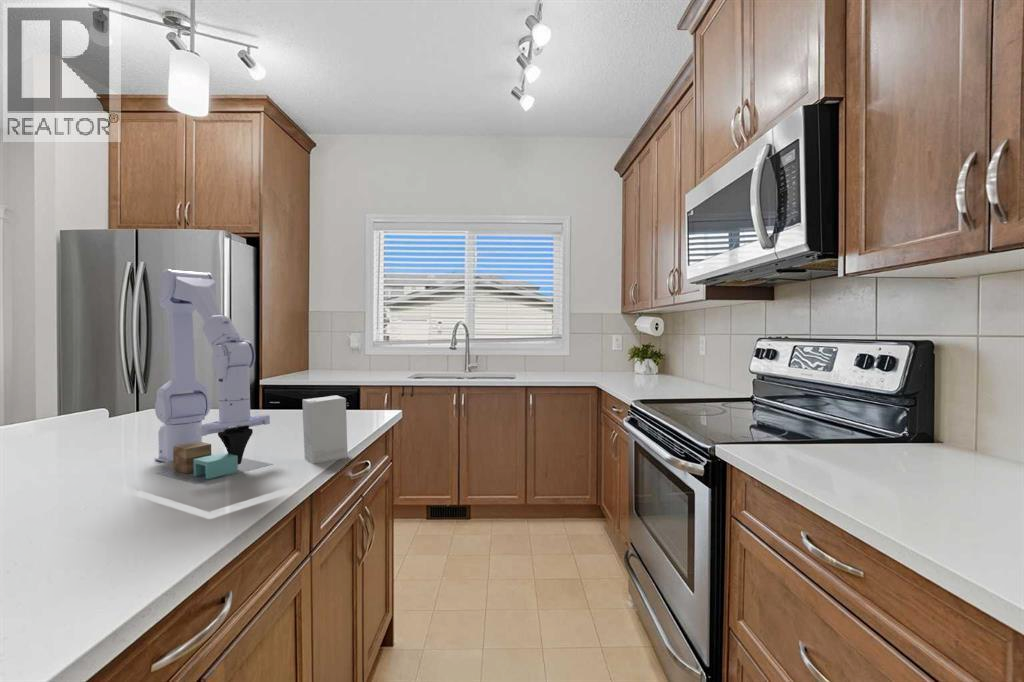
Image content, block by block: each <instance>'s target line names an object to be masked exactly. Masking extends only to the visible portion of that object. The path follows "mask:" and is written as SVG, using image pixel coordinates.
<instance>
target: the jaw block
mask: <svg viewBox="0 0 1024 682" xmlns="http://www.w3.org/2000/svg"><path fill="white" fill-rule="evenodd" d="M210 455H212V444H211V443H209V442H203V441H202V442H193V443H188V444H182V445H177V446H173V461H172V462H173V469H174V470H175V471H179V472H183V473H190V472H194V459H197V458H201V457H206V456H210Z"/></svg>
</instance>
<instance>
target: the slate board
mask: <svg viewBox="0 0 1024 682" xmlns="http://www.w3.org/2000/svg"><path fill="white" fill-rule="evenodd" d="M271 465H274V464H273V463H269V462H265V461H259V460H256V459H255V460H254V459H250V458H245V457H242V461H241V464H238V472H234V473H230V474H226V475H222V476H218V477H214V478H210V479H206V474H203V475H199V476H194V472H190V473H183V472H179V471H175V470H174V468H172V469H169V470H164V471H159V472H156V475H157V474H158V475H161V476H165V477H169V478H173V479H175V480H180V481H184V482H186V483H191V484H194V485H198V484H202V483H205V482H209V481H214V480H218V479H221V478H222V479H223V478H225V477H230V476H234V475H237V474H242V473H244V472H249V471H252V470H253V471H254V470H256V469H262V468H263V467H268V466H271Z"/></svg>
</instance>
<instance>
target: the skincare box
mask: <svg viewBox="0 0 1024 682" xmlns="http://www.w3.org/2000/svg"><path fill="white" fill-rule="evenodd" d="M302 422H303V423H302V424H303V448H304V460H306V461H308V462H309V463H311V464H314V465H315V464H319V463H320V464H321V463H326V462H331V461H338V460H341V459H348V457H349V455H348V429H347V428H348V427H347V426H348V425H347V424H348V423H347V398H346V397H343V396H340V395H328V396H323V397H313V398H306V399H305V398H303V399H302Z"/></svg>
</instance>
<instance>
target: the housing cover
mask: <svg viewBox="0 0 1024 682" xmlns="http://www.w3.org/2000/svg"><path fill="white" fill-rule="evenodd" d="M234 472H238V456H237V455H232V454H228V452H221V453H216V454H211V455H210V456H206V457H201V458H197V459H194V476H199V475H203V474H206V479H210V478H214V477H218V476H222V475H226V474H230V473H234Z"/></svg>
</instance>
